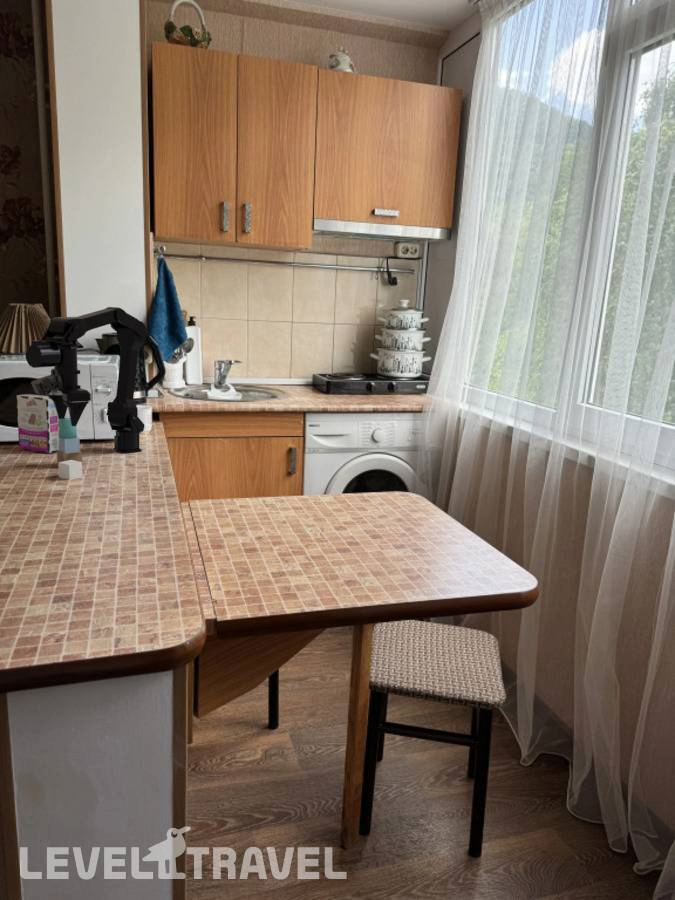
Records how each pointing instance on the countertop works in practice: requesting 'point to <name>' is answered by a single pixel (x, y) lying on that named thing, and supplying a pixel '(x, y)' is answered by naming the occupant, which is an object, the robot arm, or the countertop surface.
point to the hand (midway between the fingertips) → (67, 423)
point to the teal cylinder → (67, 429)
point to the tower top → (69, 445)
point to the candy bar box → (37, 423)
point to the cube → (70, 469)
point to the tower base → (69, 456)
